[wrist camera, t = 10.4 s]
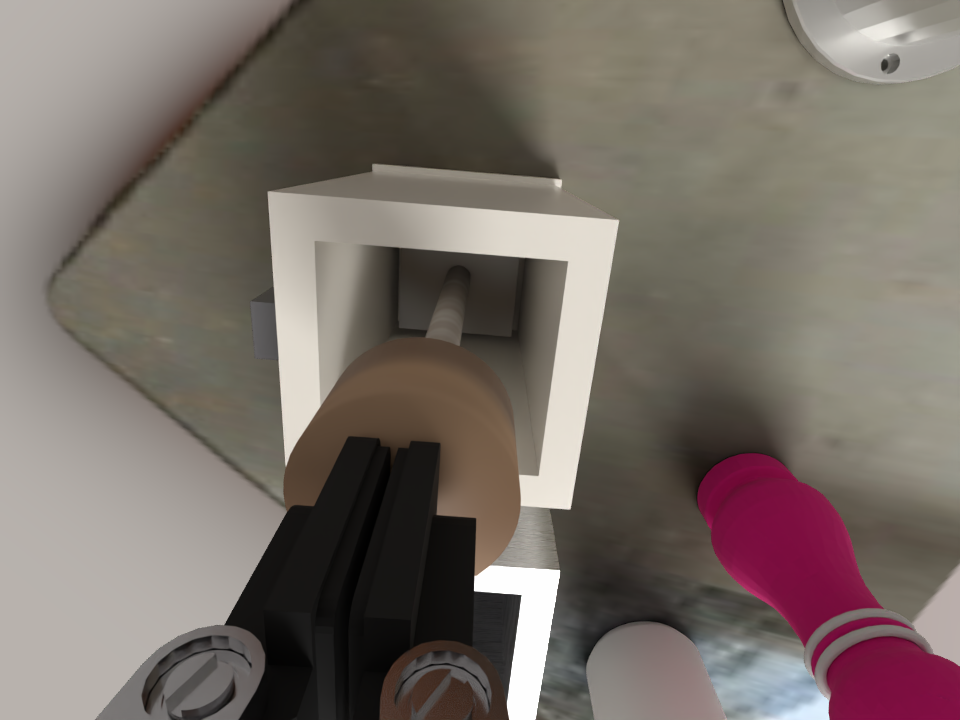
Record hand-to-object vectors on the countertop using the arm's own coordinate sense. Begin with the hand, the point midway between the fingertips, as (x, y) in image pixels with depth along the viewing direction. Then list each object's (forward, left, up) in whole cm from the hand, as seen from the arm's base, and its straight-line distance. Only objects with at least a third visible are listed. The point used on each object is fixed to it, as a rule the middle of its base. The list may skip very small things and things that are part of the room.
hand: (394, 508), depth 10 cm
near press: (0, 0, -23) cm, 23 cm away
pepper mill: (+14, +20, -23) cm, 33 cm away
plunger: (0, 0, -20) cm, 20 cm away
